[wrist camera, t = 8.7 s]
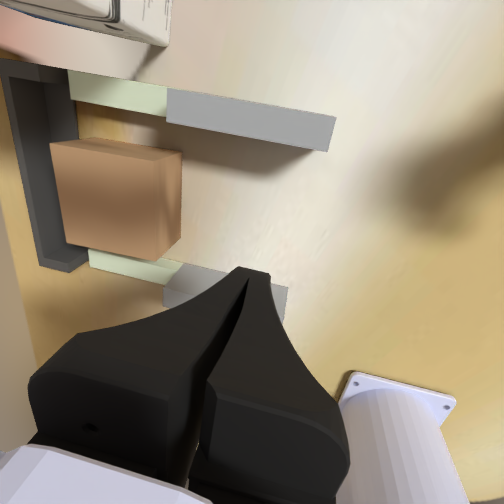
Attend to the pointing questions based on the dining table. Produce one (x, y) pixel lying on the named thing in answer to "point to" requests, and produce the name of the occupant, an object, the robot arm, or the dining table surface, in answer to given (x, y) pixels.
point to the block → (119, 195)
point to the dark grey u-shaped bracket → (42, 152)
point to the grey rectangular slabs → (248, 125)
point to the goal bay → (133, 99)
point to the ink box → (105, 16)
